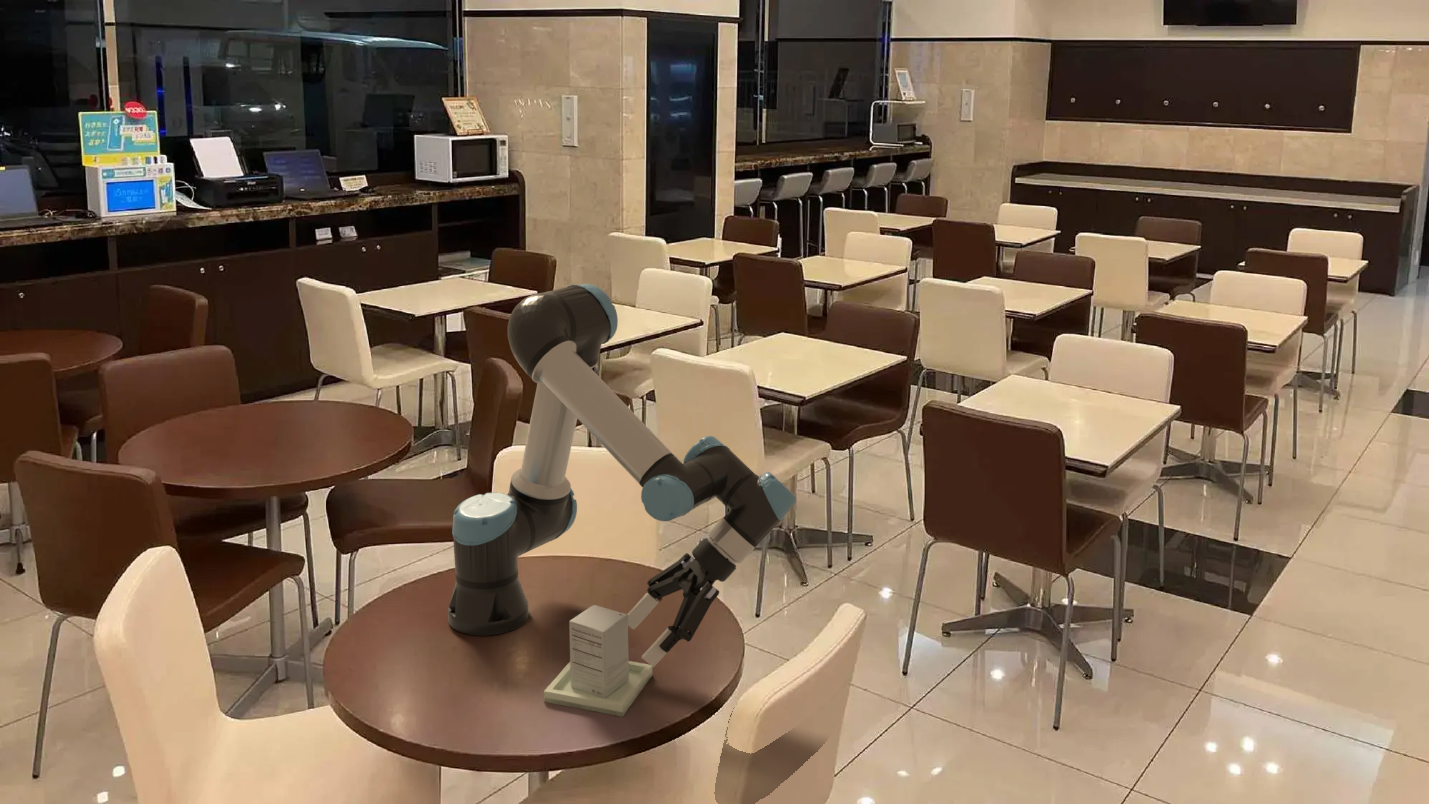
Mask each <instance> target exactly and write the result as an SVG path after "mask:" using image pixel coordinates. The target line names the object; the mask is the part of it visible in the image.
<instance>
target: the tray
mask: <svg viewBox="0 0 1429 804" xmlns="http://www.w3.org/2000/svg"><path fill="white" fill-rule="evenodd" d="M628 663H629V680H628V681H626V682H625V683H624V684H623V685H621V686H620V687H619V688H618V689H616V690H615V691H614V692H613V693H611V694H610V695H609V696H608V697H606V698H602V697H599V696H596V695H593V694H590V693H587V692H584V691H581V690H578V689H576V688H573V687H571V672H570V661H569V662H568V663H567V664H566V665H565V666H564V668H563V669H562V670H561V671H560V673H558V675H557V676H556V677H555V678H554V679H553V680H552V681H551V683H550V684H549V685H548V686H547V687H546V688H545V689H544V691H543V700H544V703H550V704H555V705H560V706H565V707H569V708H576V709H581V710H587V711H592V712H596V713H602V714H606V715H613V716H617V717H624V715H625V714H626V712H627V711H628V710H629V708H630V707H631V706H632V704H633V703H634V701H636V699H637V697H638V696H639V695H640V693H641V692H642V690H643V689H644V688H645V686H646V685H647V684H648V683H649V681H650V679H652V676H653V666H652V665H650V664H649V663H648V664H647V663H642V662H637V661H633V660H632V661H631V660H628Z"/></svg>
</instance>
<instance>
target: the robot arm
mask: <svg viewBox="0 0 1429 804" xmlns="http://www.w3.org/2000/svg"><path fill="white" fill-rule="evenodd" d="M617 312H618V311H617V309H616V307H615V305H614V304H613V303H612V299H611V298H610V296H609V295H608V293H606V292H605V291H604V290H603V289H602V288H600V287H599V286H596V285H595V284H591V283H581V284H570V285H567V287H562V288H558V289H553V290H550V291H549V290H548V291H544V292H539V293H535V294H531V295H528V296H527V297H525V298H523V299H522V300H521V301H520V302H519V303H517V305H516V306H515V307H514V309H513V310H512V312H511V313H510V316H509V318H508V319H509V320H508V323H507V339H508V342H509V343H508V344H509V347H510V350H511V352H512V355H513V358H514V359H515V360H516V361H517V363H518V365H519V366H520V368H522V369H523V371H524V372H525V373H526V375H527V376H529V378H530V379H531V380H532V382H534V383H536V390H535V394H534V400H533V405H532V411H531V416H530V421H529V426H528V431H527V436H526V442H525V447H524V453H523V456H522V457H523V458H522V463H521V467H520V468H519V469H517V470H516V471H514V472H513V473H512V475H511V477H510V478H511V479H510V483H509V487H508V488H509V489H508V493H507V494H505V493H502V492H486V493H484V494H481V493H478V494H476V495H472V496H471V497H468V498H467V499H464V500H463V501H462V502H460V503H459V504H458V505H457V507H456V508H455V509H454V511H453V516H452V520H453V521H452V528H451V531H452V532H451V534H452V539H453V542H452V543H453V554H454V555H453V557H454V569H455V570H454V571H455V572H454V573H455V584H454V586H453V590H452V594H451V597H450V601H449V604H448V607H447V620H448V624H449V626H450V627H451V628H452V629H454V630H456V631H457V632H459V633H462V634H466V635H470V636H495V635H500V634H505V633H508V632H511V631H513V630H516V629H518V628H520V627H521V626H522V625H524V624H525V623H526V622H527V620H528V619H529V615H530V614H529V613H530V612H529V602H528V599H527V597H526V595H525V592H524V588H523V586H522V583H521V582H520V578H519V565H518V564H519V560H518V558H519V557H521V556H522V555H524V554H526V553H528V552H530V551H533V550H535V549H536V548H539V547H541V546H544V545H545V544H547V543H550V542H552V541H555V540H557V539H558V538H560V537H561V536H563V535H564V534H565V533H566V532H568V530H570V529H571V527H572V526H573V524H574V523H575V520H576V517H577V511H578V504H577V503H578V502H577V500H576V499H575V498H574V496H575V493H574V491H573V489H572V487H571V486H572V485H571V482H570V480H569V479H568V477H566V474H567V469H568V464H569V459H570V454H571V450H572V445H573V440H574V436H575V431H576V427H577V421H579V422H580V423H581V424H582V425H583V426H584V427H585V429H586V430H588V431H589V432H590V434H592V436H593V437H594V438H595V439H596V440H597V441H598V442H599V443H600V444H601V445H602V446H603V448H605V450H607V451H608V453H609V454H610V455H611V456H612V457H613V458H614V459H615V460H616V461H617V462H618V464H620V465H621V466H622V468H624V470H626V472H628V474H629V475H630V476H631V477H632V479H634V480H635V482H637V483H638V485H639V486H640V487H641V488H642V489H641V494H640V498H641V503H642V504H643V507H644V510H645V512H646V513H647V514H648V515H649V516H650V518H651V517H652V518H653V519H654V520H657V521H658V522H659V521H660V522H670V521H672V520H675V519H677V518H681V517H683V516H685V515H687V514H689V513H690V512H691V511H693V510H694V509H696V508H697V507H700V506H702V505H704V504H705V503H707V502H709V501H711V500H713V499H715V498H716V499H717V500H718V501H720V502H721V503H722V504H723V505H724V506H725V507H726V508H728V509H729V510H728V512H726V514H725V515H724V516H723V517H722V518H721V519H720V520H719V521H718V522H717V523H716V525H715V526H714V527H713V528H711V530H710V531H709V532H708V533H707V534H708V538H707V537H706V538H702V540H701V541H700V542H699V543H698V544H697V545H696V546H695V548H694V549H692V551H691V554H692V555H690V553H688V552H686V553H684V554H683V555H682V556H681V557H680V558H679V559H678V560H677V561H675V562H674V563H672V564H670V565H669V566H667V568H665V569H664V570H662V571H660V572H659V573H658V574H656V575H654V576H653V577H651V578H650V579H649V580H647V583H646V585H648V588H647V589H646V591H647V592H646V593H645V594H644V595H643V596H642V597H641V598H640V599H639V601H638V602H637V603H636V604H635V605H634V606H633V607H632V608H631V609H630V611H628V613H626V614H627V615H628V628H630V629H632V630H635V629H637V627H638V626H639V625H640V624H641V623H642V622H643V621H644V620H645V619H646V617H648V615H649V614H650V613H651V612H652V611H653V610H654V608H656V606H657V605H659V603H660V602H662V600H663V597H666V596H669V595H671V594H674V593H676V592H679V591H681V590H682V591H683V592H682V597H683V598H682V602H681V604H680V607H679V609H678V611H677V614H676V617H675V618H674V620H673V621H674V622H673V624H672V625H669V626H668V627H667V628H666V629H665V630H664V631H663V632H662V633H661V635H660V636H659V637H658V638H657V639H656V640H655V641H654V642H653V643H652V644H651V645H650V646H649V647H648V648H647V650H646V651H645V652H644V653H642V655H641V656H640V657H641V659H642V660H644V661H645V662H646V663H648V664H649V665H652V668H654V667H655V666H657V664H658V663H659V662H660V661H661V660H662V659H664V657H665V656H666V654H667V653H669V652H670V651H671V650H672V649H673V648H674V647H675V645H676V644H677V643H678V642H679V641H680V640H685V641H686V642H687V643H688V642H690V641H691V640H692V639H693V637H694V636H695V633H696V632H697V630H698V628H699V627H700V624H701V622H702V621H703V619H704V618H705V615H706V614H707V613H708V612H707V611H709V609H710V606H711V605H712V603H713V602H714V601H715V600H716V599H717V598H718V596H719V595H720V590H718V589H717V588H716V587H715V586H714V583H715V582H716V581H719V582H722V583H723V582H725V581H727V579H728V578H729V577H730V576H731V575H732V573H734V572H735V571H736V570H737V565H736V564H741V563H743V561H744V560H746V558H747V557H748V556H750V555H752V553H753V551H754V550H755V548H757V546H758V545H759V544H760V543H761V542H762V541H763V540H765V538H766V537H767V536H768V535H769V534H770V533H771V532H772V531H773V530H774V529H775V528H776V526H777V525H779V523H780V522H782V521H783V520H784V517H785V516H786V515H787V514H788V512H789V511H790V510H792V507H794V505H795V504H796V502H797V501H796V500H797V499H796V496H795V494H794V493H793V492H792V491H791V490H790V489H789V488H787V486H785V485H784V484H783V483H782V481H780V480H779V479H778V478H777V477H776V476H775V475H774V474H772V473H771V472H770V471H765V472H764V473H763V474H762V475H761V474H760V475H758V474H756V473H755V472H754V471H753V470H752V469H750V467H748V465H746V464H745V462H743V461H742V460H741V459H740V458H739V457H738V456H737V455H736V454H735V452H733V451H732V450H731V449H730V448H729V446H727V445H725V444H724V443H722V442H721V441H720V440H719V439H717V438H716V437H715V436H712V435H706V436H704V437H702V438H701V439H699V441H697V442H695V443H694V444H693V445H692V446H691V447H690V448H689V450H688V451H687V452H686V455H685V456H684V458H683V462H681V460H679V459H678V457H677V456H675V454H673V452H672V451H670V449H669V448H668V447H667V446H666V445H665V444H664V443H663V442H662V441H661V440H660V438H658V437H657V435H655V433H653V431H652V430H651V429H650V428H649V427H648V426H647V425H646V424H645V423H644V422H643V421H642V420H641V418H639V417H638V416H637V415H636V414H635V413H634V412H633V411H632V409H631V408H630V407H629V406H628V405H627V404H626V403H625V402H624V401H623V400H622V399H621V398H619V396H618V395H617V394H616V393H615V392H614V391H613V390H612V389H611V388H610V386H609V385H608V384H606V382H605V381H604V380H602V378H601V377H600V376H599V375H598V374H597V373H596V372H595V371H594V370H593V368H594V367H596V366H597V364H598V361H599V356H600V352H601V349H602V345H606V343H608V342H609V341H610V340H612V339H613V338H614V336H615V335H616V332H617V329H618V323H619V322H618V321H619V319H618V314H617ZM692 556H693V557H692Z"/></svg>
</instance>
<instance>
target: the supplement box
mask: <svg viewBox="0 0 1429 804" xmlns="http://www.w3.org/2000/svg"><path fill="white" fill-rule="evenodd" d="M627 614H628V613H624V612H620V611H618V610H614V609H611V608H605V607H603V606H599V605H595V604H593V605H591V606H590V607H588V608H587V609H584V611H582V612H581V613H579V614H578V615H576V616H574V618H572V619H570V620H569V622H568V624H569V625H568V626H569V662H570V672H571V687H573V688H576V689H578V690H581V691H584V692H587V693H590V694H593V695H596V696H599V697H602V698H606V697H608V696H609V695H610V694H611V693H613V692H614V691H615V690H616V689H618V688H619V687H620V686H621V685H623V684H624V683H625V682H626V681H628V680H629V663H628V661H629V626H628V615H627Z"/></svg>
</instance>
